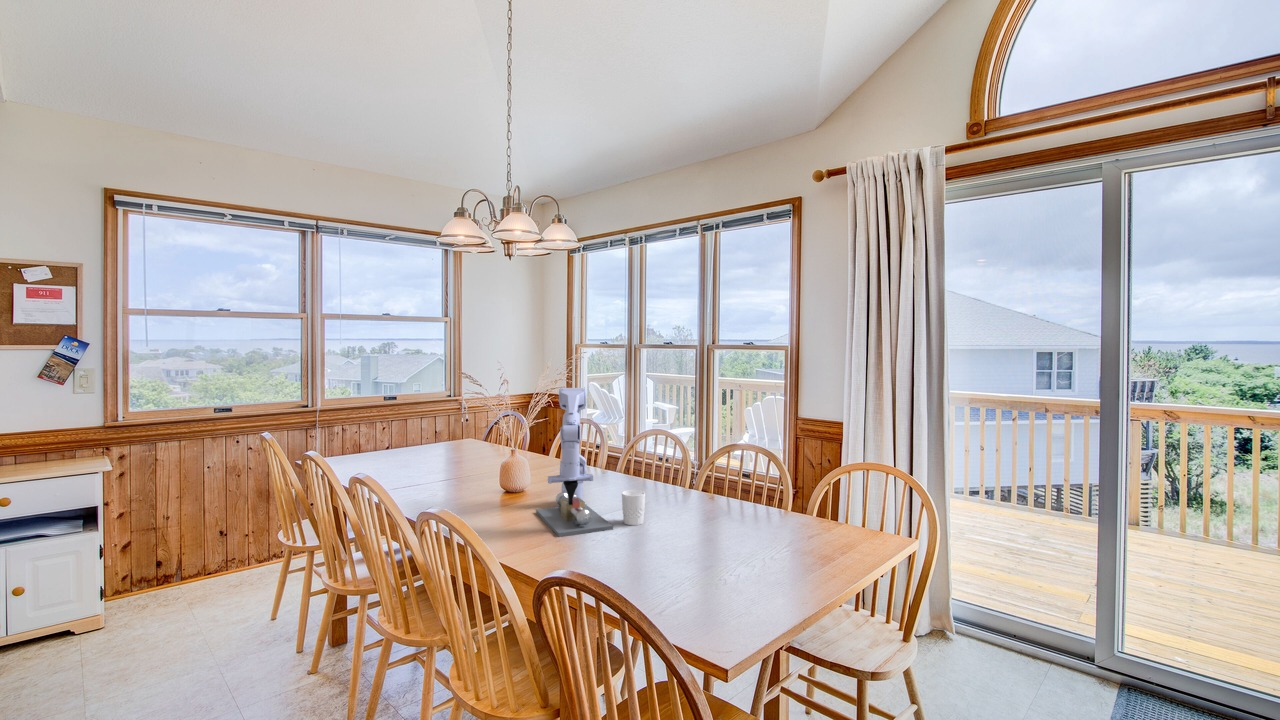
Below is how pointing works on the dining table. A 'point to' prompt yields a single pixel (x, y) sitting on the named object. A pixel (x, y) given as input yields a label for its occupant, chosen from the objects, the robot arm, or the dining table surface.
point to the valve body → (573, 510)
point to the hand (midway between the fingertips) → (570, 504)
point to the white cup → (633, 507)
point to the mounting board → (566, 527)
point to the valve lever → (575, 502)
